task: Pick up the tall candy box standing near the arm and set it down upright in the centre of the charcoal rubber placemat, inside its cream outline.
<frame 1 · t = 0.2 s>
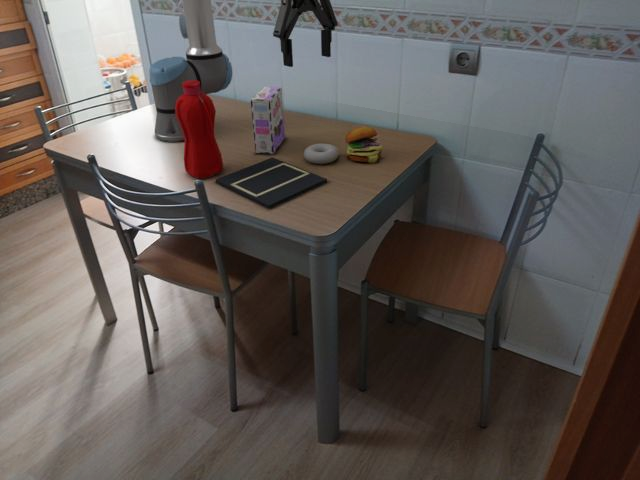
hand: (307, 61, 135), 28 cm above the table, tool pointing down, fingers open, 13 cm apart
cheeseburger: (362, 157, 151), on the table
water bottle: (207, 173, 144), on the table
donut: (321, 159, 151), on the table
candy box: (270, 146, 160), on the table
placemat: (271, 182, 138), on the table
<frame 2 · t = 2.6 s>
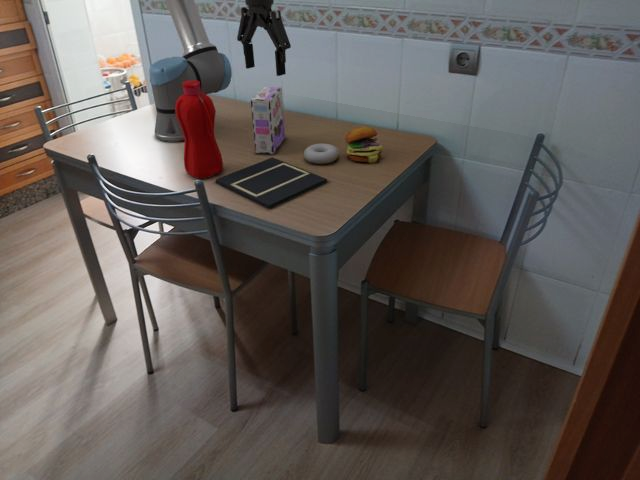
hand: (265, 71, 148), 23 cm above the table, tool pointing down, fingers open, 13 cm apart
nothing on the table moved.
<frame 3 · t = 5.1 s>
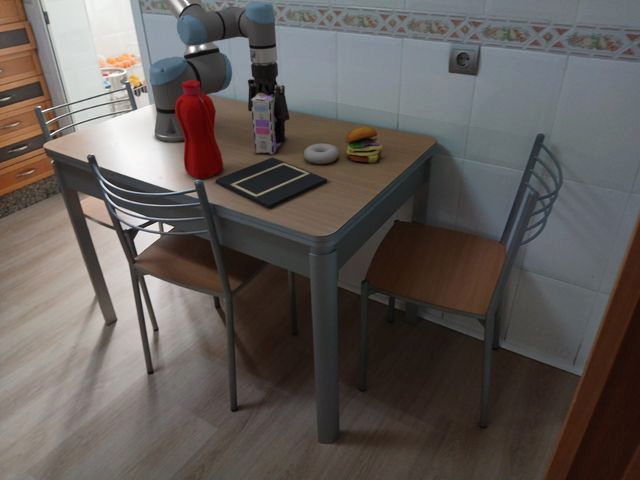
hand: (270, 138, 159), 2 cm above the table, tool pointing down, fingers closed on candy box, 9 cm apart
candy box: (271, 146, 160), on the table, touching gripper
everything else where it was.
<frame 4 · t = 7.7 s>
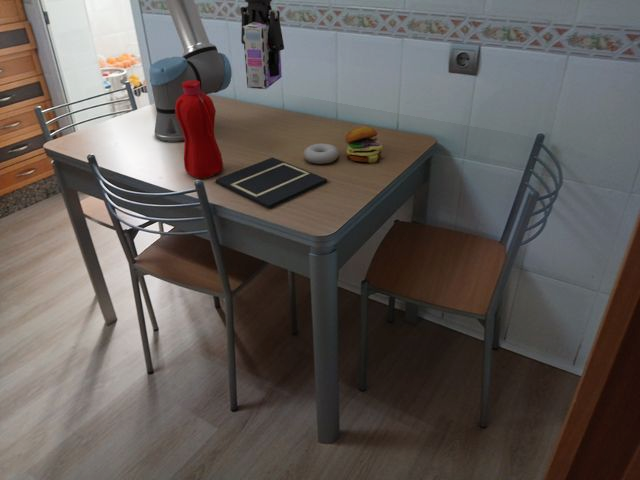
hand: (264, 73, 149), 22 cm above the table, tool pointing down, fingers closed on candy box, 8 cm apart
candy box: (265, 83, 150), point 19 cm above the table, touching gripper
everything else where it was.
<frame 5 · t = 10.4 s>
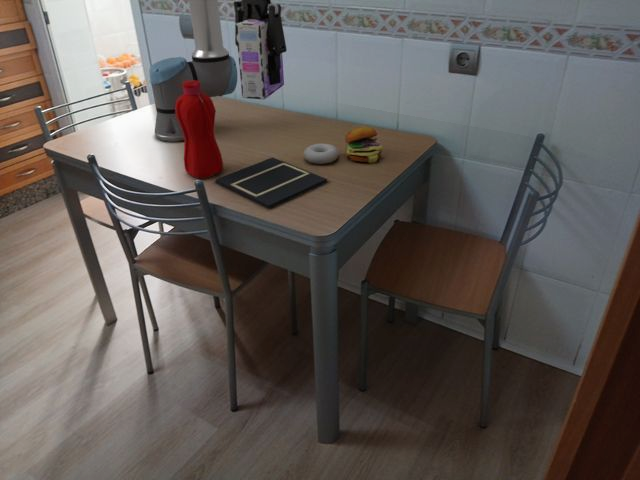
hand: (263, 80, 124), 27 cm above the table, tool pointing down, fingers closed on candy box, 8 cm apart
candy box: (264, 92, 126), point 24 cm above the table, touching gripper
everything else where it was.
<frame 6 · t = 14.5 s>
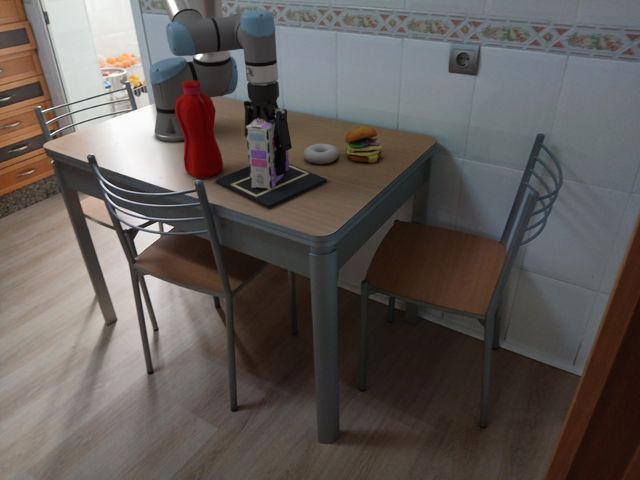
hand: (269, 169, 136), 4 cm above the table, tool pointing down, fingers closed on candy box, 8 cm apart
candy box: (270, 179, 138), point 1 cm above the table, touching gripper, placemat
everything else where it was.
when the fingers open (4 cm above the table, at t = 14.7 s): candy box stays where it is, resting on placemat.
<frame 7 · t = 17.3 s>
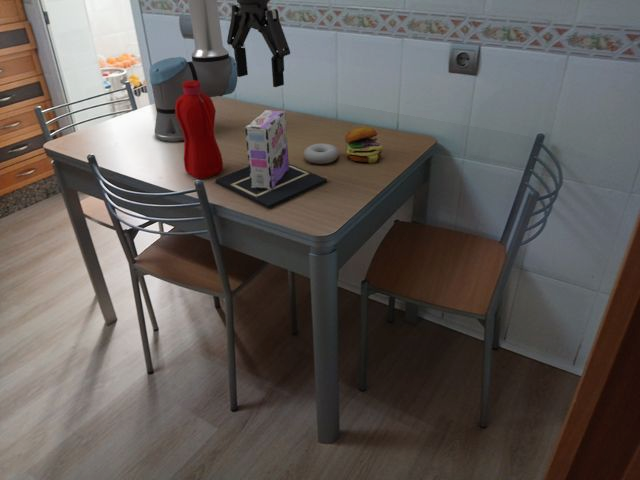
hand: (260, 80, 126), 26 cm above the table, tool pointing down, fingers open, 13 cm apart
candy box: (271, 179, 138), point 1 cm above the table, touching placemat
everything else where it was.
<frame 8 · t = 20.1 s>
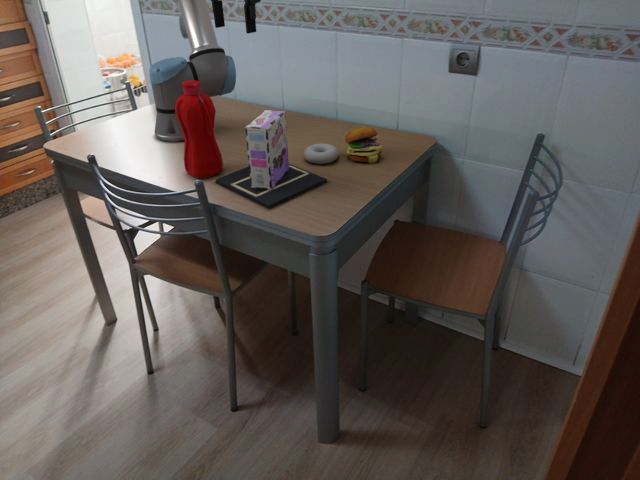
hand: (235, 29, 138), 35 cm above the table, tool pointing down, fingers open, 13 cm apart
nothing on the table moved.
at the end: candy box 0.1 cm off-centre on the placemat, point 0.9 cm above the placemat's base; candy box tilted 0°; the gripper is holding nothing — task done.
